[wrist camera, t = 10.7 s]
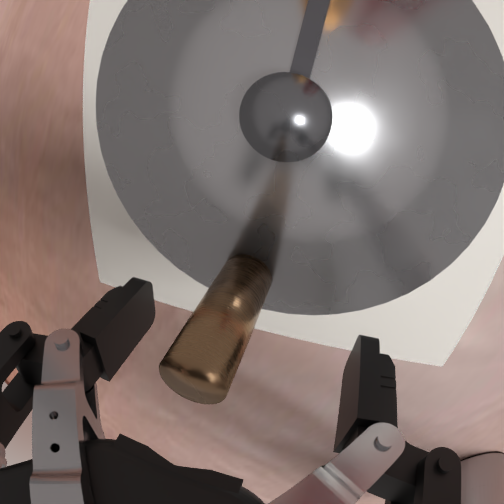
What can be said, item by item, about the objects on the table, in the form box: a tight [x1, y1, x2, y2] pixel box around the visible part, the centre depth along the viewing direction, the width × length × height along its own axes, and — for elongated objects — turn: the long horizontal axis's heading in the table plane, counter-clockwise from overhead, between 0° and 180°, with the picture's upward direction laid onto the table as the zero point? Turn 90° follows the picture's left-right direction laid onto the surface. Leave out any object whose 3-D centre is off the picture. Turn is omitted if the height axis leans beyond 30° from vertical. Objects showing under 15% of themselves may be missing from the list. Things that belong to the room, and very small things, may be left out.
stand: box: [83, 0, 504, 366], centre depth 12 cm, size 22×23×4 cm
